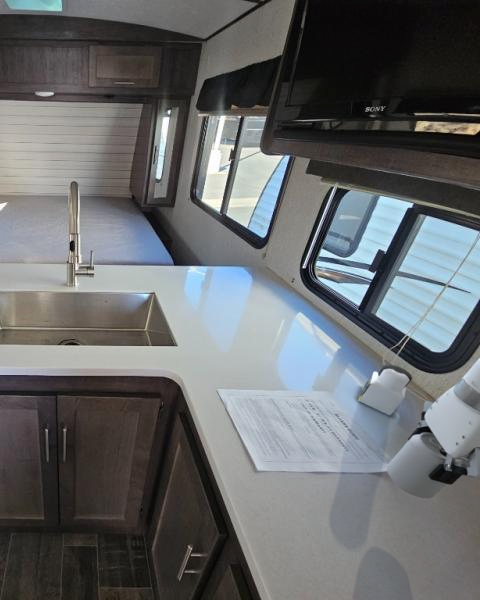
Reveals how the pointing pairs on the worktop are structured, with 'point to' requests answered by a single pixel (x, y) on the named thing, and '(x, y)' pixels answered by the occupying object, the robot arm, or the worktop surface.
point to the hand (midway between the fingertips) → (427, 460)
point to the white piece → (386, 388)
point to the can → (418, 465)
